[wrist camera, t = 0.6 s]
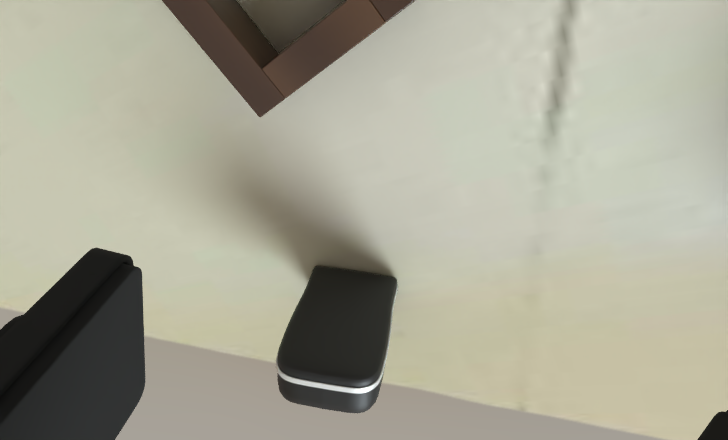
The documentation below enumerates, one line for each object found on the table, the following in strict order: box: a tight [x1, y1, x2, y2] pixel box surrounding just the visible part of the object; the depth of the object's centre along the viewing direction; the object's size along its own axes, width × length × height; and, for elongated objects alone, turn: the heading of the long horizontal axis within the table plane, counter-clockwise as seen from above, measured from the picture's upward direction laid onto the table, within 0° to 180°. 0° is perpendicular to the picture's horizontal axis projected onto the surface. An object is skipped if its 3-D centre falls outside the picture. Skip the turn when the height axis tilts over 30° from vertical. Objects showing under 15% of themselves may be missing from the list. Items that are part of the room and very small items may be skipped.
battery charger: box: [276, 266, 398, 413], centre depth 42 cm, size 7×4×11 cm, turn 87°
